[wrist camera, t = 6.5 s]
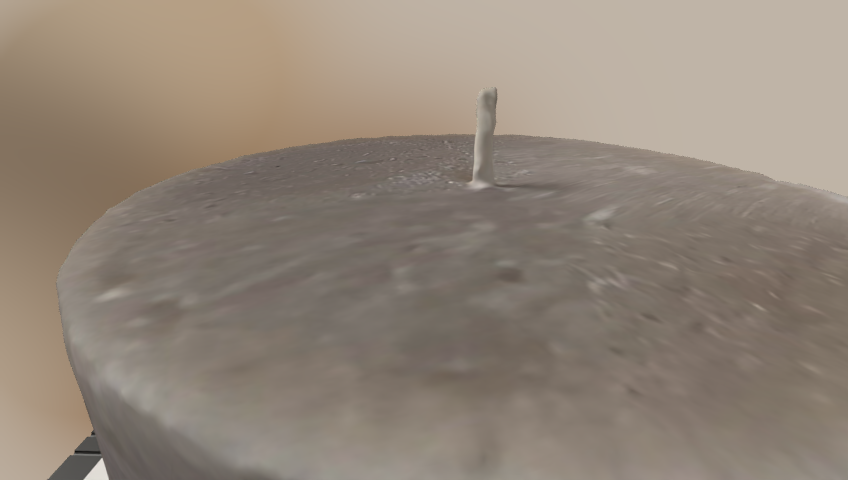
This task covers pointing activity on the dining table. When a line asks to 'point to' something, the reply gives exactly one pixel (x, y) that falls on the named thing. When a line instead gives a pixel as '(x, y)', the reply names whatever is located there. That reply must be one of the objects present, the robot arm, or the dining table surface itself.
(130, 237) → the pillar candle
